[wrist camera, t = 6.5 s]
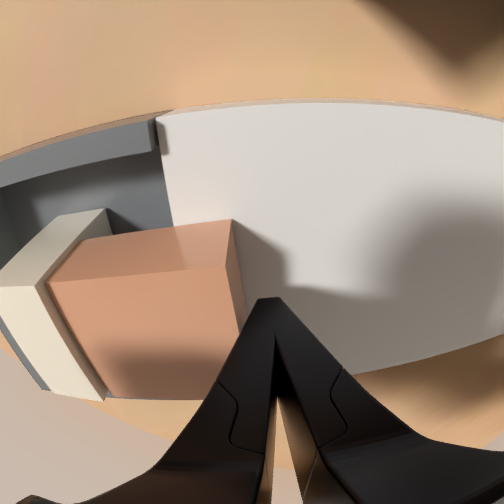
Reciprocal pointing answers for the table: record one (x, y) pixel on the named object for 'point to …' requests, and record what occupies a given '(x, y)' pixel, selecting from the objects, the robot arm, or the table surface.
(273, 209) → the board
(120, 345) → the tile
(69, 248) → the tile
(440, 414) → the table surface
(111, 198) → the tray
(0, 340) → the table surface
